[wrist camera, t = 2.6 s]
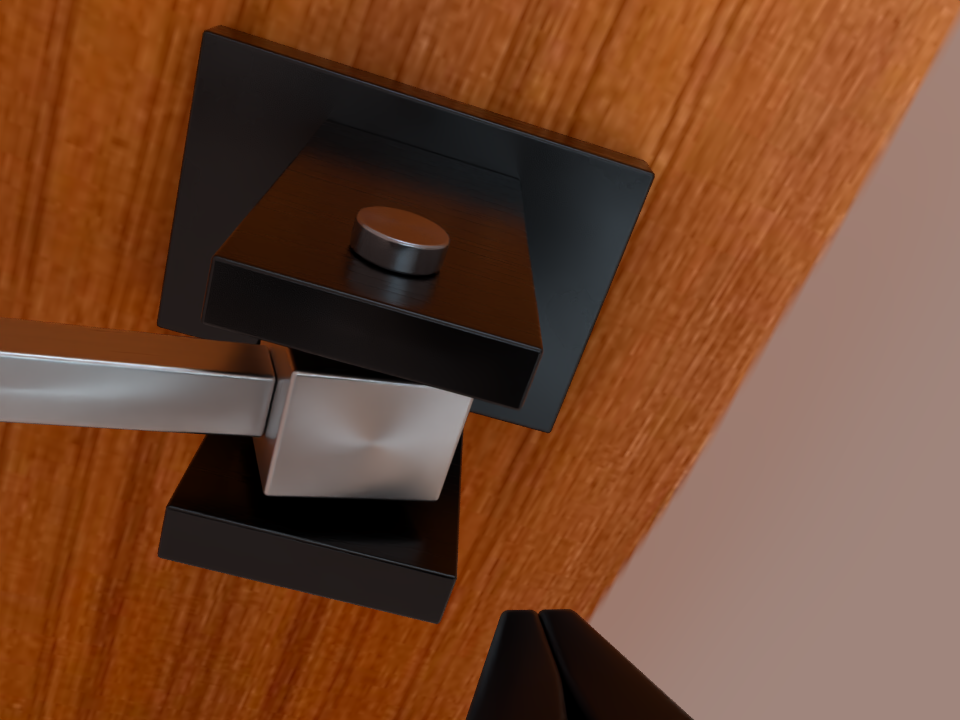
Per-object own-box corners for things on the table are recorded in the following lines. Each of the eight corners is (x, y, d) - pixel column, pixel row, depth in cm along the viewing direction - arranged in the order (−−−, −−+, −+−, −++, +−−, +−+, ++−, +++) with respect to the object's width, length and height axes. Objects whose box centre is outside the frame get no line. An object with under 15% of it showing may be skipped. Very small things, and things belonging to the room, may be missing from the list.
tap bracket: (170, 307, 22) (-41, 564, 13) (218, 23, 19) (-16, 107, 10) (547, 411, 23) (585, 709, 14) (647, 161, 20) (774, 343, 11)
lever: (-400, 476, 12) (-500, 606, 10) (-475, 29, 9) (-634, 88, 7) (375, 501, 17) (407, 592, 15) (467, 210, 14) (520, 274, 12)
